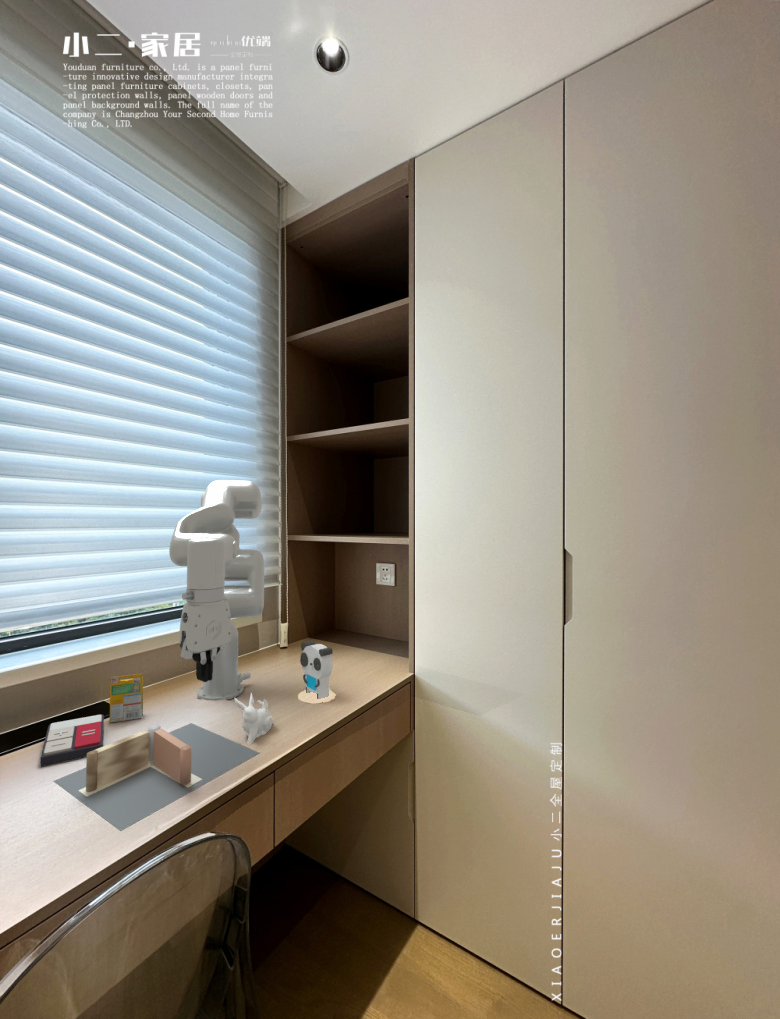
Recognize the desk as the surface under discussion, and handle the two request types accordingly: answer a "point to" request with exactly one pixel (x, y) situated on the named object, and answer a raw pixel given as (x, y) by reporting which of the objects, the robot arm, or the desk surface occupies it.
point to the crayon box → (126, 698)
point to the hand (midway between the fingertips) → (204, 679)
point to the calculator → (72, 739)
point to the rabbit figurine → (255, 719)
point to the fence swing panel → (170, 754)
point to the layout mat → (158, 779)
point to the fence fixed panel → (116, 760)
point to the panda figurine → (316, 667)
